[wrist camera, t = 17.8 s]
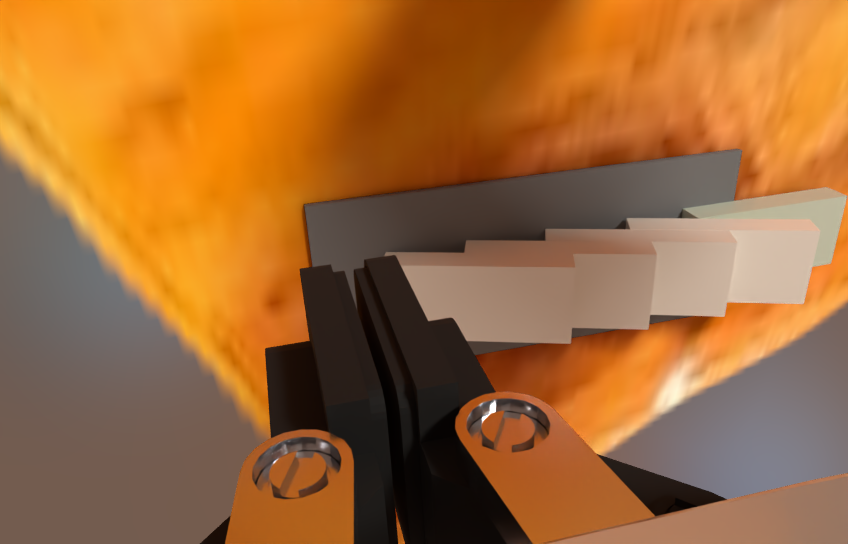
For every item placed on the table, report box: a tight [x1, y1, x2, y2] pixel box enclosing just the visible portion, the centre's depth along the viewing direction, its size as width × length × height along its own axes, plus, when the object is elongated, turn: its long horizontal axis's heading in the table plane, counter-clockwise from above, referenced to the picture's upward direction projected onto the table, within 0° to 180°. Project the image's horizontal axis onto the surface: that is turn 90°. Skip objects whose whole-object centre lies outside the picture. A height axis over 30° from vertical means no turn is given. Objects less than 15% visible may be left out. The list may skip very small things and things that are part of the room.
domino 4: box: [626, 218, 821, 304], centre depth 44 cm, size 2×5×11 cm
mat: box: [304, 149, 742, 355], centre depth 44 cm, size 28×12×1 cm, turn 93°
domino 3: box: [545, 229, 737, 317], centre depth 43 cm, size 2×5×11 cm
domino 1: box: [384, 252, 575, 344], centre depth 41 cm, size 2×5×11 cm
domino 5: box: [682, 187, 847, 267], centre depth 46 cm, size 2×5×11 cm
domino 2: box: [464, 240, 657, 330], centre depth 42 cm, size 2×5×11 cm
